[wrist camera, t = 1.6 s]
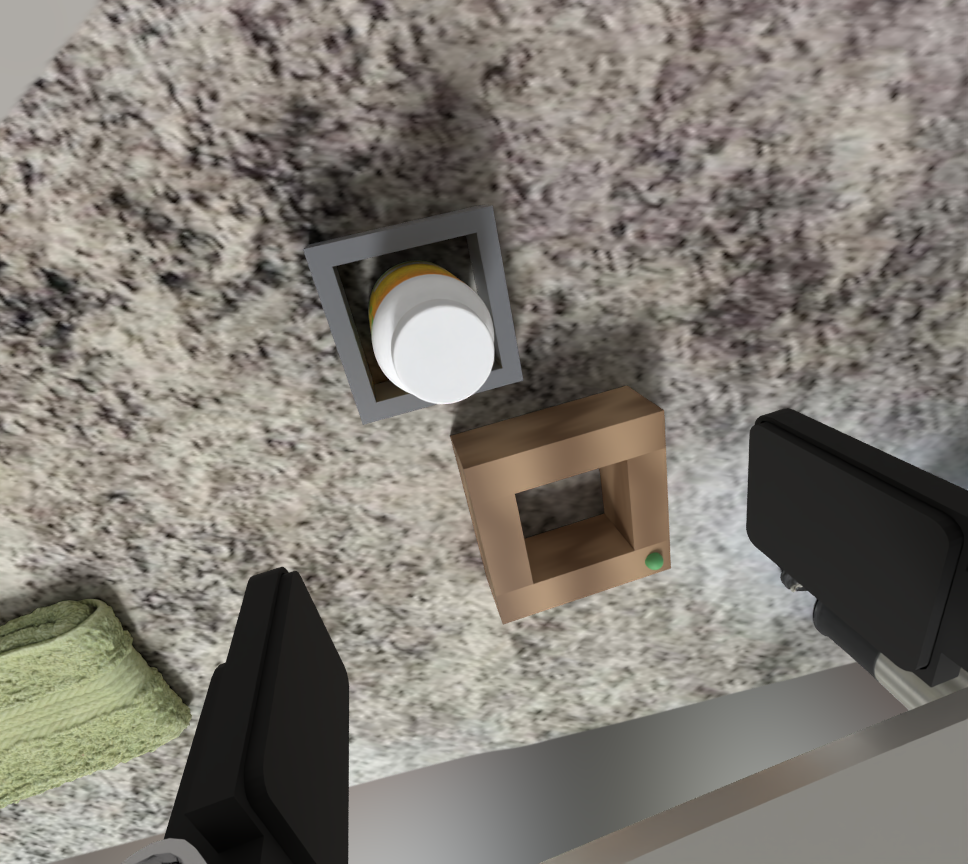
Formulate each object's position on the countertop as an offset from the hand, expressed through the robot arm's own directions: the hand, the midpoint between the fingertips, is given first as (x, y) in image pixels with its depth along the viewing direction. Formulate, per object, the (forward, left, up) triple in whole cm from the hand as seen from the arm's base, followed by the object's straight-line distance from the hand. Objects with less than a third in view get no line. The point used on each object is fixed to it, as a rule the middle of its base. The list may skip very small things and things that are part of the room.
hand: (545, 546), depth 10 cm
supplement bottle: (0, -1, -21) cm, 21 cm away
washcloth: (+31, +17, -21) cm, 41 cm away
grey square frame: (0, -1, -21) cm, 21 cm away
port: (-6, +13, -21) cm, 25 cm away
